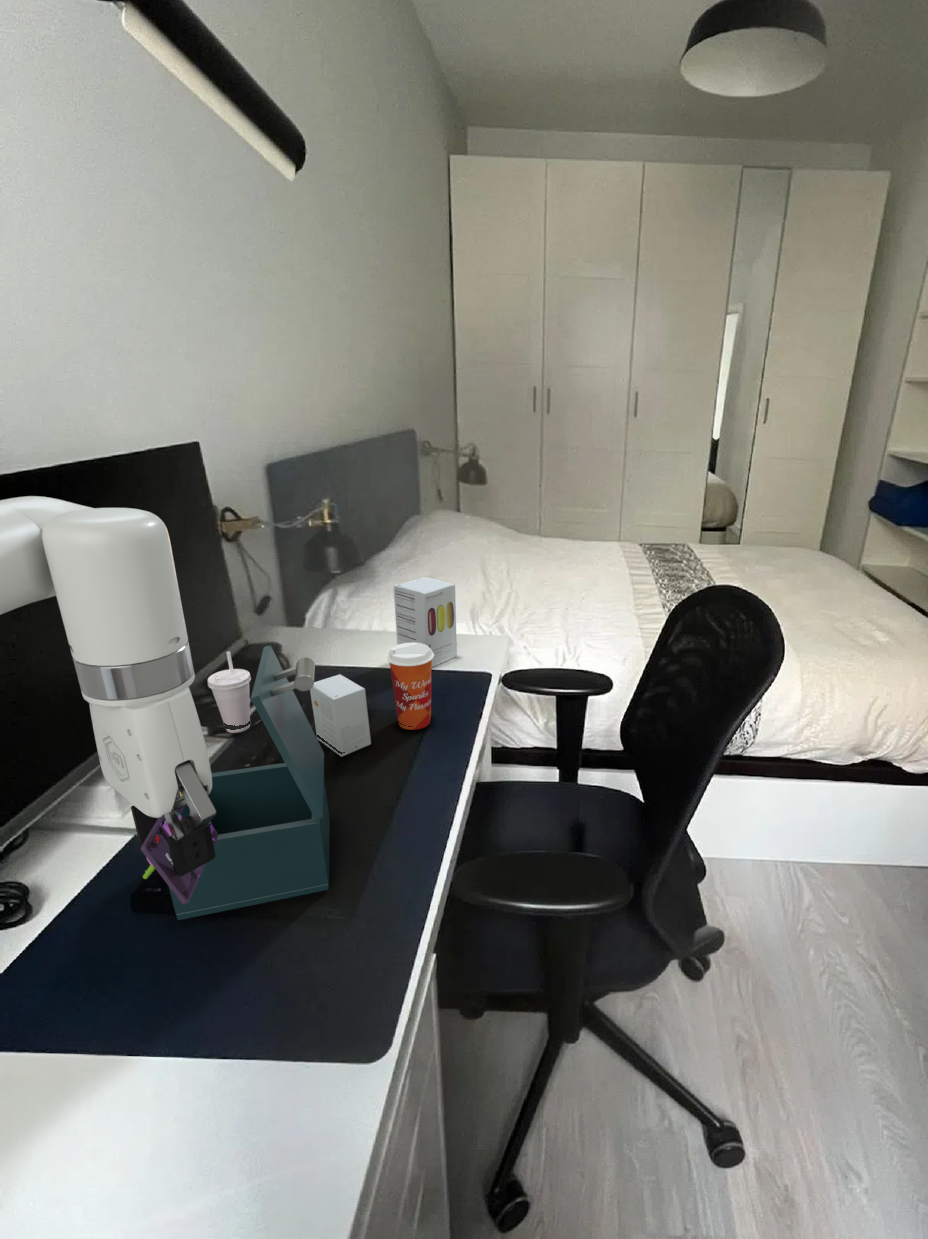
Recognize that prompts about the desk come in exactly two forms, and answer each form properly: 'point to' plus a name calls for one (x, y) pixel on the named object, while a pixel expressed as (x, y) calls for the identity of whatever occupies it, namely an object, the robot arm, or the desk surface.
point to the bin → (260, 843)
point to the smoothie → (232, 695)
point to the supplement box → (427, 616)
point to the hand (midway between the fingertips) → (177, 848)
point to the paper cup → (412, 683)
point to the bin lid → (291, 723)
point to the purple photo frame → (170, 859)
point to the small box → (341, 714)
